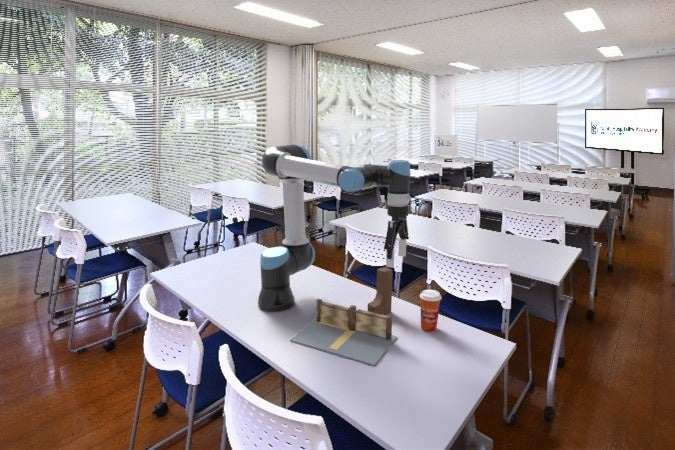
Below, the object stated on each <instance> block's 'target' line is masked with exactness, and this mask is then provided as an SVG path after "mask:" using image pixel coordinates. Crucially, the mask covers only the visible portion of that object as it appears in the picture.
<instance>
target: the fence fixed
mask: <svg viewBox="0 0 675 450" xmlns="http://www.w3.org/2000/svg"><path fill="white" fill-rule="evenodd" d="M356 311H357V305H354V304H353V305H349V307H348V306H343V305H338V304H335V303H330V302H326V301H323V299H321V298H319V299H316V319H317V322H323V323H327V324H331V325H335V326H339V327H342V328H346V329H349V330H351V331H355V330H356Z"/></svg>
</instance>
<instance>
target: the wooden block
mask: <svg viewBox="0 0 675 450" xmlns="http://www.w3.org/2000/svg"><path fill="white" fill-rule="evenodd" d="M393 273H394V272H393V269H391V268H390V267H386V266H384V267H380V268H377V270H376V293H375V297H374V299H372V301H370V302H368V303H367V311H369V312H373V313H377V314H382V315H386V314H390V313H392V300H393V299H392V298H393V297H392V296H393V275H394V274H393Z"/></svg>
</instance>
